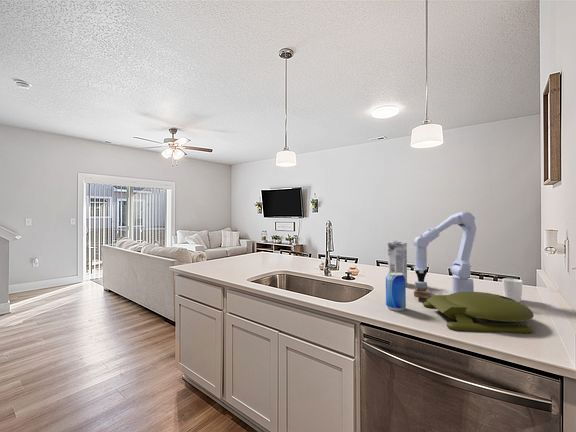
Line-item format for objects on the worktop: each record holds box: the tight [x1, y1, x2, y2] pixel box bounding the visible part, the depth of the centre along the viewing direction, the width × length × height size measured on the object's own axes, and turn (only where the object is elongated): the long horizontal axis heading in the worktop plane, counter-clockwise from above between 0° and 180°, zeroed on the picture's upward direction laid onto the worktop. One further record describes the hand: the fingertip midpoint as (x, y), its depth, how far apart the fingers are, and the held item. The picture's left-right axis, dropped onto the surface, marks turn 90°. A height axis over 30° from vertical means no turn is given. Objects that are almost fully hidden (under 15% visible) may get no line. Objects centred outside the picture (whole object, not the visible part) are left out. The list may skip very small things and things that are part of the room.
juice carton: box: [387, 240, 408, 284], centre depth 174 cm, size 9×10×27 cm
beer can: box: [385, 272, 407, 312], centre depth 128 cm, size 8×8×16 cm
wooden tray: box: [413, 281, 430, 299], centre depth 147 cm, size 7×21×5 cm, turn 155°
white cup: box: [501, 277, 524, 303], centre depth 139 cm, size 8×8×10 cm
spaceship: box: [422, 291, 535, 334], centre depth 115 cm, size 35×31×10 cm
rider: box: [415, 280, 428, 290], centre depth 148 cm, size 5×4×4 cm
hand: (421, 284), depth 150 cm, fingers closed
